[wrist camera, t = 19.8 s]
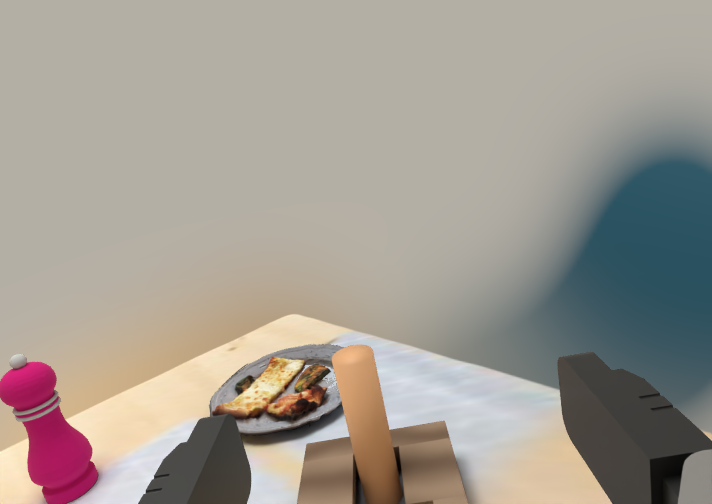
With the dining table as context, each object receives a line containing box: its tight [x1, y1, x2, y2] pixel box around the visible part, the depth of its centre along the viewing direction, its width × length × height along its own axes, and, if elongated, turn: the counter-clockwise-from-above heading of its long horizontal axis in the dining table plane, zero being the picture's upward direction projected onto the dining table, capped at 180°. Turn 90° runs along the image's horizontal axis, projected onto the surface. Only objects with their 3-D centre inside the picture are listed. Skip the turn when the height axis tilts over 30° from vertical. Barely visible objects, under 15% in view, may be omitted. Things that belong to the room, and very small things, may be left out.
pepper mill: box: [0, 354, 98, 504], centre depth 61 cm, size 7×7×20 cm
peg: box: [332, 345, 406, 504], centre depth 47 cm, size 8×8×18 cm
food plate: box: [209, 344, 345, 436], centre depth 75 cm, size 25×23×4 cm
